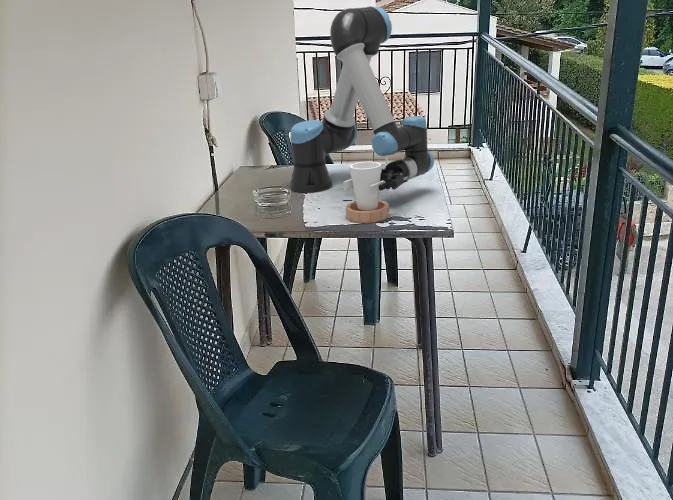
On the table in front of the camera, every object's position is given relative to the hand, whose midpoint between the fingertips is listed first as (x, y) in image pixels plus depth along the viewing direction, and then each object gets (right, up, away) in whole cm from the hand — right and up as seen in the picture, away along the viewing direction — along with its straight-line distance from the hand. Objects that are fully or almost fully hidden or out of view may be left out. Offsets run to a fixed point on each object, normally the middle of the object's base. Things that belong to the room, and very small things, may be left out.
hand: (357, 188), depth 190 cm
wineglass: (+14, +14, +63) cm, 66 cm away
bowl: (+3, -8, +7) cm, 11 cm away
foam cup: (+3, -5, +6) cm, 8 cm away
